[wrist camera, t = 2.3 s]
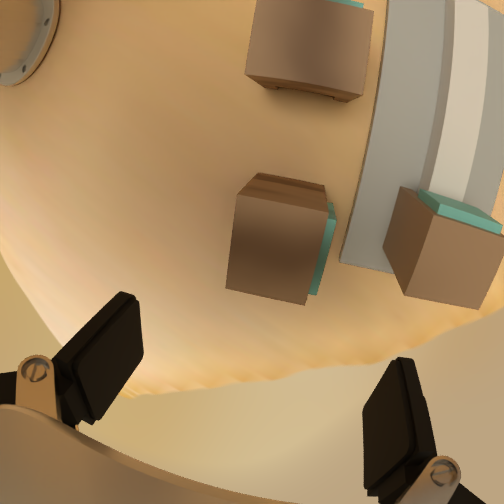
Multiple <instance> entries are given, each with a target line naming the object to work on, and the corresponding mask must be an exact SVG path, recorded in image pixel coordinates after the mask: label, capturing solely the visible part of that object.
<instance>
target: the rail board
mask: <svg viewBox="0 0 504 504" xmlns="http://www.w3.org/2000/svg"><path fill="white" fill-rule="evenodd" d="M503 169H504V15H503V14H502V13H500V12H498V11H497V10H495V9H493V8H491V7H490V6H488V5H486V4H484V3H483V2H481V1H479V0H387V10H386V21H385V31H384V40H383V49H382V57H381V64H380V71H379V78H378V85H377V91H376V97H375V103H374V109H373V115H372V120H371V125H370V131H369V136H368V141H367V146H366V151H365V155H364V160H363V165H362V169H361V174H360V178H359V182H358V187H357V191H356V195H355V199H354V203H353V207H352V211H351V215H350V219H349V223H348V227H347V230H346V234H345V238H344V241H343V245H342V249H341V252H340V256H339V262H340V263H345V264H350V265H354V266H359V267H364V268H368V269H373V270H378V271H382V272H387V273H391V274H395V276H396V278H397V280H398V283H399V285H400V287H401V290H402V292H403V294H404V296H409V297H414V298H419V299H424V300H429V301H435V302H440V303H445V304H450V305H455V306H460V307H466V308H471V309H476V310H479V308H480V306H481V304H482V302H483V300H484V298H485V296H486V294H487V292H488V290H489V288H490V286H491V283H492V281H493V279H494V277H495V275H496V272H497V270H498V268H499V265H500V263H501V260H502V258H503V256H504V235H502V234H501V233H500V232H501V229H502V226H503V225H501V224H500V223H499V222H497V221H496V220H494V219H493V218H492V217H490V216H491V213H492V210H493V206H494V203H495V200H496V196H497V192H498V189H499V185H500V181H501V177H502V173H503Z"/></svg>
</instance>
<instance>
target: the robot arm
mask: <svg viewBox="0 0 504 504" xmlns="http://www.w3.org/2000/svg"><path fill="white" fill-rule="evenodd" d="M58 17H59V0H0V85H3V86H13V85H17V84H19V83H21V82H23V81H24V80H25V79H27V78H28V77H29V76H30V75H31V74H32V73H33V71H34V70H35V69H36V68H37V66H38V65H39V63H40V62H41V61H42V59H43V57H44V55H45V54H46V52H47V50H48V48H49V45H50V43H51V41H52V39H53V36H54V33H55V30H56V26H57V22H58ZM143 354H144V350H143V341H142V331H141V319H140V306H139V301H138V300H136V297H135V296H134V295H132V294H129V293H125V292H122V291H120V292H119V293H117V294H116V295H115V296H114V297H113V298H112V299H111V300H110V301H109V302H108V303H107V304H106V305H105V306H104V307H103V308H102V309H101V310H100V311H99V312H98V313H97V314H96V315H95V316H94V317H93V318H92V319H91V320H89V321H88V322H87V323H86V324H85V325H84V326H83V327H82V328H81V329H80V330H79V331H78V332H77V333H76V334H75V335H74V337H73V338H72V339H71V340H70V341H69V342H68V343H67V344H66V345H65V346H64V347H63V348H62V349H61V350H60V351H59V352H58V353H57V354H56V355H55V356H54V357H53V358H52V360H50V359H49V358H47V357H46V356H43V355H33V356H29V357H27V358H25V359H24V360H23V361H22V362H21V363H20V365H19V366H18V370H17V371H14V372H7V373H0V504H298V503H290V502H283V501H277V500H272V499H266V498H261V497H256V496H251V495H246V494H241V493H238V492H233V491H229V490H225V489H221V488H218V487H214V486H210V485H207V484H204V483H200V482H197V481H194V480H191V479H188V478H184V477H181V476H178V475H175V474H173V473H170V472H167V471H165V470H162V469H159V468H156V467H154V466H151V465H149V464H146V463H144V462H142V461H139V460H137V459H134V458H132V457H130V456H127V455H125V454H123V453H121V452H119V451H117V450H114V449H112V448H110V447H108V446H106V445H104V444H102V443H100V442H98V441H96V440H94V439H92V438H90V437H88V436H86V435H84V434H82V433H80V432H79V428H78V424H79V423H80V422H81V420H83V421H85V422H87V423H89V424H90V425H93V424H94V422H95V421H96V420H100V419H101V418H102V417H103V415H104V414H105V412H106V411H107V409H108V408H109V406H110V405H111V404H112V402H113V401H114V399H115V398H116V396H117V395H118V393H119V392H120V390H121V389H122V388H123V386H124V385H125V383H126V382H127V380H128V379H129V377H130V376H131V375H132V373H133V372H134V370H135V369H136V367H137V366H138V365H139V363H140V362H141V360H142V358H143ZM362 417H363V444H364V445H363V446H364V488H365V489H367V490H368V491H367V496H378V500H379V501H378V502H379V504H486V503H484V502H483V501H482V500H480V499H479V498H478V497H477V496H475V495H474V494H473V493H472V492H470V491H469V490H468V489H467V488H465V487H464V486H463V485H462V484H460V483H459V482H460V479H461V471H460V467H459V466H458V464H457V463H456V461H454V460H453V459H452V458H450V457H448V456H437V451H436V446H435V441H434V436H433V430H432V426H431V421H430V417H429V412H428V407H427V403H426V400H425V397H424V396H423V393H422V389H421V385H420V381H419V377H418V374H417V370H416V367H415V363H414V360H413V359H411V358H403V357H397V359H396V360H392V361H391V362H390V364H389V366H388V368H387V369H386V371H385V373H384V374H383V376H382V378H381V379H380V381H379V383H378V384H377V386H376V388H375V389H374V391H373V393H372V394H371V396H370V397H369V399H368V401H367V402H366V404H365V406H364V408H363V412H362Z"/></svg>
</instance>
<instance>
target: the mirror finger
mask: <svg viewBox="0 0 504 504" xmlns="http://www.w3.org/2000/svg"><path fill="white" fill-rule="evenodd" d="M373 14H374V11H371V10H367V9H364V8H363V3H359V2H355V1H351V0H257V2H256V8H255V13H254V19H253V25H252V31H251V37H250V43H249V49H248V55H247V62H246V68H245V75H246V76H248V77H249V78H251V79H252V80H254V81H255V82H257V83H258V84H260V85H261V86H263V87H264V88H271V89H278V87H285V88H291V89H297V90H303V91H308V92H313V93H319V94H323V95H328V96H333V97H334V98H333V100H337V101H342V102H346V103H347V102H349V101H351V100H354V99H356V98H358V97H360V96H362V95H363V90H364V84H365V77H366V70H367V63H368V56H369V49H370V41H371V32H372V24H373Z"/></svg>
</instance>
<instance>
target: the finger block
mask: <svg viewBox="0 0 504 504" xmlns="http://www.w3.org/2000/svg"><path fill="white" fill-rule="evenodd" d="M336 222H337V219H336V215H335V211H334V206H333V203H329V202H327V199H326V194H325V188H324V185H319V184H315V183H310V182H305V181H300V180H295V179H290V178H285V177H280V176H275V175H269V174H264V173H257V174H256V175H255V176H254V177H253V179H252V180H251V181H250V182H249V183H248V184H247V185H246V186H245V187H244V188H243V189H242V190H241V191H240V192H239V193H238V194H237V199H236V207H235V214H234V222H233V230H232V238H231V246H230V254H229V263H228V271H227V280H226V289H231V290H235V291H240V292H244V293H248V294H253V295H257V296H262V297H267V298H271V299H276V300H281V301H285V302H290V303H295V304H300V305H305V303H306V300H307V296H308V294H311V295H317V292H318V288H319V285H320V281H321V278H322V274H323V271H324V267H325V264H326V260H327V256H328V253H329V249H330V245H331V241H332V237H333V233H334V230H335V226H336Z"/></svg>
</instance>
